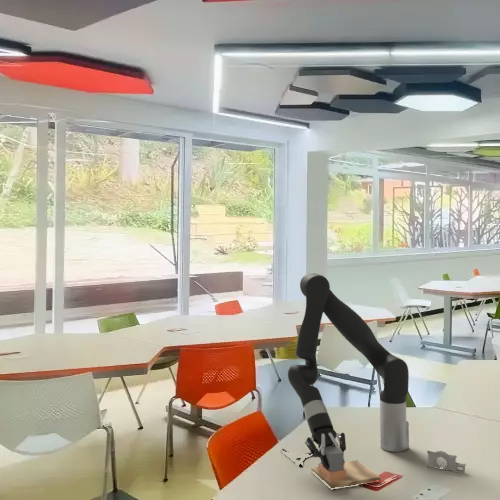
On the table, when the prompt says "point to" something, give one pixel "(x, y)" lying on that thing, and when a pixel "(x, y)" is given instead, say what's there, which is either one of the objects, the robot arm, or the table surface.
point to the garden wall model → (448, 458)
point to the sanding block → (333, 464)
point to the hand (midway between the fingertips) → (335, 466)
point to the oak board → (350, 475)
